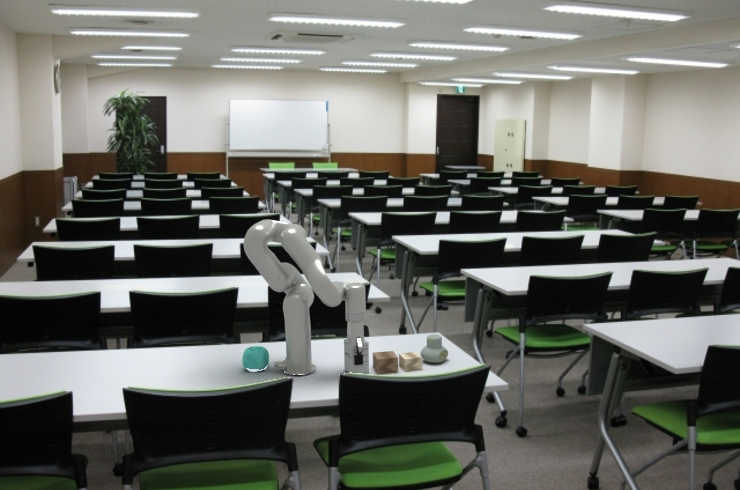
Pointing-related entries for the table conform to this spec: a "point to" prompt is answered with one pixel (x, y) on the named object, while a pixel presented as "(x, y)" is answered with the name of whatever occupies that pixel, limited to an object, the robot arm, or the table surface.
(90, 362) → the table surface
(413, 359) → the maple block
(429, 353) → the air freshener
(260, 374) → the table surface
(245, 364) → the teal rounded cube
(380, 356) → the walnut block
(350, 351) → the supplement box
